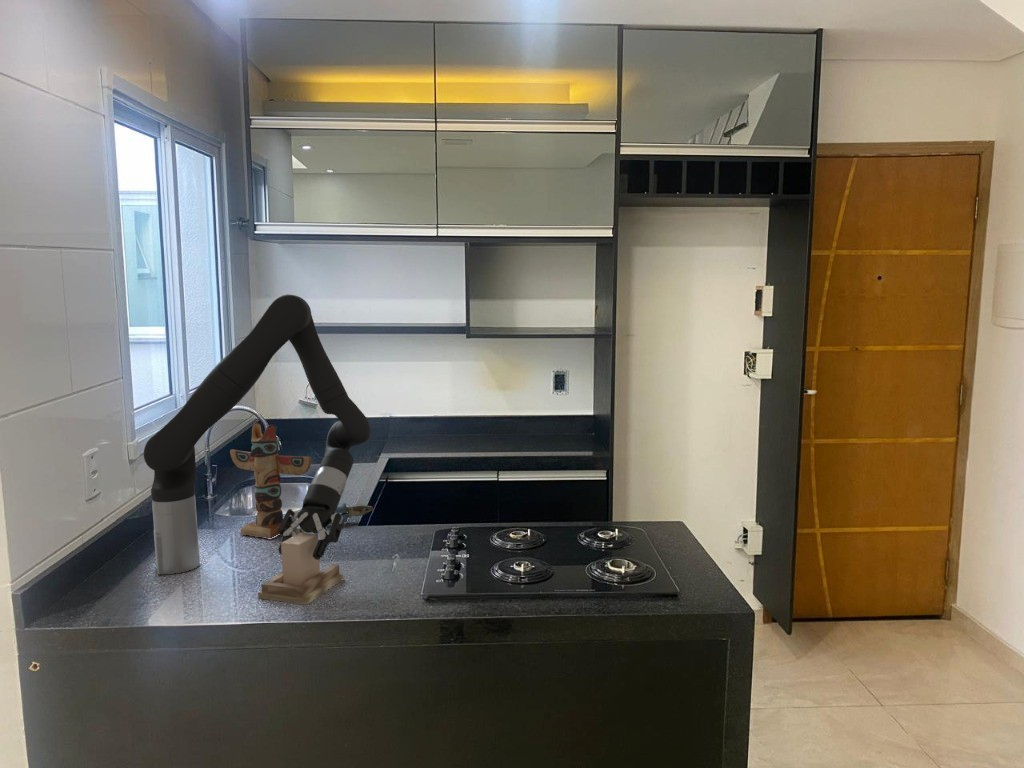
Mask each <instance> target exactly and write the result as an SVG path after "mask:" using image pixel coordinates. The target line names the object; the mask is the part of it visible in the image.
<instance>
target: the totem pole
mask: <svg viewBox="0 0 1024 768" xmlns="http://www.w3.org/2000/svg"><path fill="white" fill-rule="evenodd" d="M277 429H278V427H277V425H276V424H269V425H268V426H267V427H265V429H264V432H263V433H262V427H261V424H260V423H257V422H256V423H253V425H252V427H251V439H250V443H251V444H252V445H251V448H250V449H251V451H244V450H240V449H239V450H238V449H233V448H232V449H230V450H229V453H230V458H231V460H232V462H233V464H234V465H235V466H236V467H237V468H238V469H242V470H246V471H252V472H253V471H254V472H253V473H254V478H255V480H254V482H255V484H254V488H255V491H254V498H255V509H256V511H257V512H256V516H255V521H252V522H250V523H247V524H245V525H243V526H242V527H241V528H240V535H241V534H243V535H242V536H246V535H251V536H250V537H252V536H257V537H256V538H258V537H266V538H272V537H274V536H276V535H278V534H279V533H278V532H277V531H278V528H279V526H280V524H281V522H282V520H283V518H284V515H283V514H284V513H283V511H282V507H283V500H282V499H281V498H280V497H281V495H282V485H281V474H282V475H290V476H292V475H293V476H301V475H305V474H306V473H308V472H309V470H310V469H311V465H312V457H311V456H302V455H301V456H299V455H297V456H294V455H280V454H279V442H278V438H277V437H278V436H277V434H276V432H277Z"/></svg>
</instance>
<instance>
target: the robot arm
mask: <svg viewBox="0 0 1024 768" xmlns="http://www.w3.org/2000/svg"><path fill="white" fill-rule="evenodd" d="M287 342H290V343H291V345H292V347H293V348H294V350H295V352H296V353H297V356H298V359H299V360H300V362H301V365H302V368H303V371H304V374H305V376H306V378H307V381H308V384H309V387H310V388H311V390H312V393H313V395H314V397H315V399H316V400H317V402H318V405H319V406H320V409H321V411H323V413H324V414H326V415H333V416H335V417H336V418H337V419H338V421H336V422H334V423H333V424H332V426H331V427H330V429H329V431H328V433H327V437H326V441H325V448H324V456H323V458H322V459H321V462H320V464H319V466H318V469H317V471H316V472H315V474H314V476H313V478H312V480H311V483H310V484H309V485H310V486H309V487H308V490H307V491H306V495H305V496H304V498H303V501H302V508H301V509H300V510H299V511H293V509H292V508H289V509H287V510H286V513H285V514H284V515H283V520H282V522H281V524H280V526H279V528H278V531H277V532H278V533H279V534H280V535H281V536H280V537H282V538H281V541H280V543H279V546H278V549H277V550H278V553H279V554H280V555H281V556H282V551H281V543H282V542H284V541H286V540H287V539H289V538H291V537H293V536H295V535H297V534H299V533H312V534H318V537H319V538H320V540H319V539H318V542H317V545H316V547H315V550H314V552H313V557H314V558H315V559H316V560H319V561H320V560H321V558H323V557H324V555H325V551H326V550H327V547H328V545H329V544H331V543H335V544H336V543H338V542H339V538H340V535H341V533H342V530H343V526H344V523H345V522H344V518H343V517H342V516H341V515H340V514H341V513H335V511H336V509H337V507H339V503H340V501H341V498H342V496H343V495H344V494H343V493H344V491H345V487H346V485H347V481H348V477H349V476H350V473H351V470H352V467H353V465H354V457H353V455H352V453H351V452H350V449H351V448H352V447H356V446H358V445H363V444H364V443H366V442H367V441H368V440H370V439H369V438H370V437H371V434H372V433H371V431H372V429H371V425H370V422H369V420H368V418H367V416H366V415H365V413H363V412H362V410H361V409H360V408H359V407H358V405H356V403H355V402H354V401H353V400H352V399H351V398H350V397H349V395H348V392H347V391H346V389H345V387H344V385H343V383H342V381H341V379H340V377H339V375H338V373H337V370H336V369H335V367H334V366H333V364H332V362H331V360H330V358H329V356H328V355H327V353H326V351H325V349H324V346H323V343H322V341H321V339H320V337H319V333H318V332H317V329H316V325H315V322H314V319H313V316H312V311H311V307H310V305H309V303H308V302H307V301H306V300H305V299H304V298H302V297H300V296H298V295H294V294H282V295H279V296H278V297H276V298H274V300H273V301H271V303H270V304H269V305H268V307H267V309H266V310H265V311H264V313H263V315H262V316H261V318H260V319H258V321H257V323H256V324H255V325H254V327H253V328H252V329H251V330H250V331H249V333H248V334H247V335H245V337H244V338H242V340H241V341H240V342H239V343H237V345H235V346H234V347H233V348H232V349H231V350H230V351H229V352H228V353H226V355H225V356H224V357H223V358H222V359H221V360H220V361H219V362H218V363H217V364H216V365H215V366H214V367H213V369H212V370H211V371H210V372H209V373H208V374H207V376H206V377H205V378H204V379H203V381H202V382H201V383H199V385H198V386H197V388H196V389H195V390H194V392H193V393H192V394H191V396H189V398H188V399H187V401H186V403H185V404H184V406H183V407H182V408H181V409H180V410H179V411H178V413H176V414H175V416H173V417H172V418H171V419H170V420H169V421H168V422H167V423H166V424H165V425H164V426H163V427H162V428H161V429H159V430H158V431H157V432H156V433H155V434H153V435H152V436H151V437H150V438H149V439H148V440H147V442H146V443H145V445H144V448H143V458H144V459H143V460H144V462H145V464H146V465H147V467H148V468H149V469H151V470H152V471H153V472H154V473H153V474H154V476H153V481H152V484H151V488H150V496H151V498H150V499H151V507H152V508H151V509H152V519H153V539H154V552H155V553H154V555H155V561H156V562H155V565H156V566H157V567H156V572H157V571H158V572H157V574H159V575H160V574H161V575H174V574H175V573H176V574H182V573H186V571H187V572H189V570H190V571H193V570H194V568H195V569H196V568H198V567H199V566H200V565H201V560H200V558H201V556H200V545H199V535H198V534H199V533H198V531H199V530H198V518H197V517H198V516H197V504H196V503H197V502H196V492H195V489H196V487H195V486H196V481H197V471H196V470H197V468H196V467H197V466H196V465H197V464H196V452H195V451H196V449H195V446H196V445H197V443H198V442H199V440H201V438H202V437H203V436H204V434H205V433H206V432H207V431H208V430H209V429H210V428H212V427H213V426H214V425H215V424H216V423H217V422H218V421H219V420H221V419H222V418H224V416H225V415H227V414H228V413H229V412H230V411H232V409H234V408H235V406H236V405H238V403H240V401H241V400H242V399H243V398H244V397H245V396H246V395H247V394H248V392H249V391H250V390H252V388H253V387H254V385H255V384H256V383H257V381H258V380H259V378H260V377H261V375H262V374H264V373H263V372H264V371H265V369H266V368H267V366H268V364H270V363H269V362H271V360H272V359H273V357H274V356H275V354H276V353H277V352H278V351H279V350H280V349H282V347H283V346H284V345H285V344H287ZM331 522H332V524H330V523H331ZM329 525H331V526H330V530H329V531H328V528H327V527H328V526H329ZM298 527H300V528H298ZM199 564H200V565H199ZM198 565H199V566H198ZM197 566H198V567H197ZM181 572H182V573H181ZM159 575H158V576H159Z"/></svg>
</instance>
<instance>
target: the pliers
mask: <svg viewBox="0 0 1024 768" xmlns="http://www.w3.org/2000/svg"><path fill="white" fill-rule="evenodd" d="M372 511H374V507H373V506H371V505H364V504H358V505H353V506H347V504H346V502H343V503H342V504H341V505H340V506H337V509H336V511H335V514H337V513H340V515H341V516H342V517H343V518H344V523H347V522H348V518H353V517H361V516H364V515H366V514H368V513H369V512H372ZM329 525H332V522H331V523H330V524H329Z"/></svg>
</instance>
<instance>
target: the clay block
mask: <svg viewBox="0 0 1024 768" xmlns="http://www.w3.org/2000/svg"><path fill="white" fill-rule="evenodd" d="M318 540H319V533H311V532H309V533H307V532H304V533H299V534H297V535H295V536H293V537H291V538H289V539H287V540H286V541H284V542H282V543H281V542H280V543H281V551H282V555H281V565H282V572H283V584H292V585H302V584H303V583H305V582H307V581H308V580H310V579H311V578H313V577H314V576H316V575H317V574H319V573H320V571H321V570H320V569H321V568H320V560H316V559H315V558H314V557H313V552H314V550H315V547H316V545H317V542H318Z"/></svg>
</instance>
